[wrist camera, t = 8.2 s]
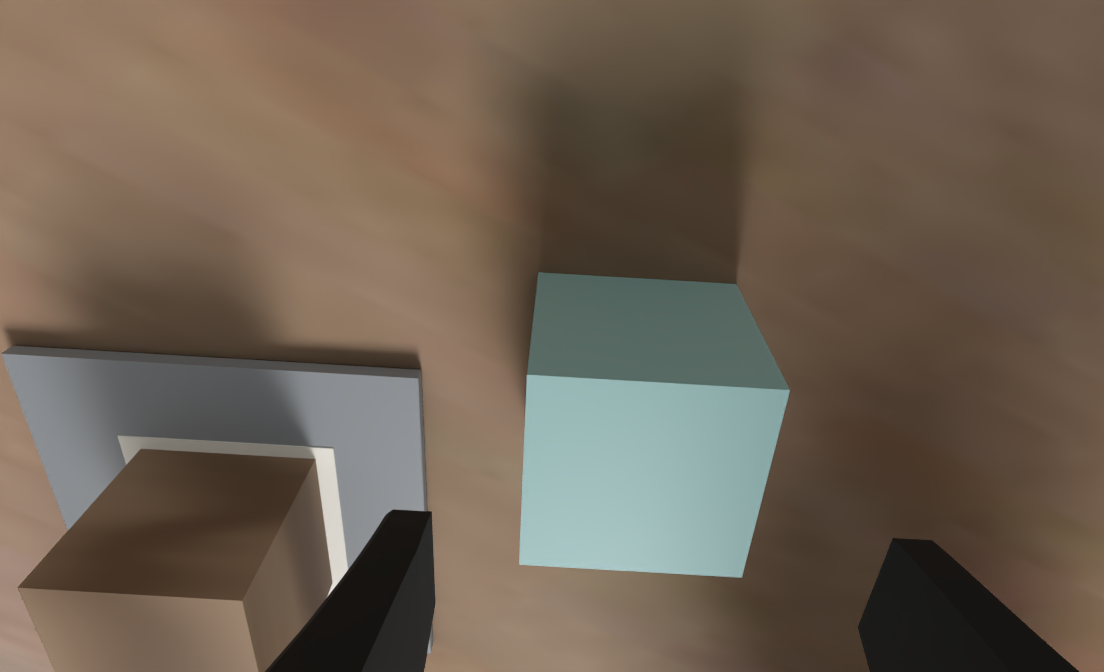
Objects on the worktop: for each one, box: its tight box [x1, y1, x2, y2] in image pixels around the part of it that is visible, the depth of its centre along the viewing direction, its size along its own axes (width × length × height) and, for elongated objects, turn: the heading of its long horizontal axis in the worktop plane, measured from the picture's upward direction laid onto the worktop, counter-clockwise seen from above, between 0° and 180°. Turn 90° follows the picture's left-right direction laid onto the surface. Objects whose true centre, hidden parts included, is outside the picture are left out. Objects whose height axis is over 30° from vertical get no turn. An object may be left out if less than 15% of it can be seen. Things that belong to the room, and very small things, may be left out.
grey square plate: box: [2, 346, 433, 653], centre depth 19 cm, size 10×10×1 cm
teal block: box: [519, 272, 790, 578], centre depth 15 cm, size 4×4×4 cm
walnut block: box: [18, 449, 333, 672], centre depth 17 cm, size 4×4×4 cm
